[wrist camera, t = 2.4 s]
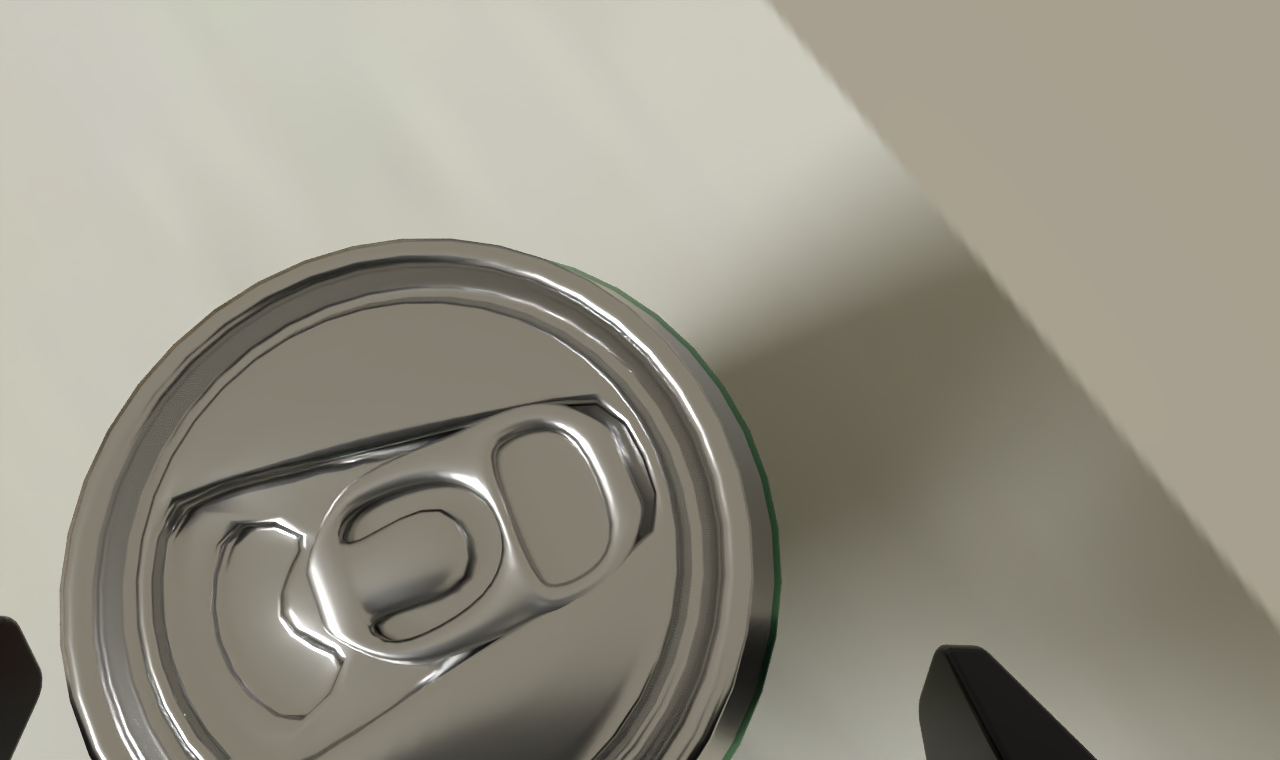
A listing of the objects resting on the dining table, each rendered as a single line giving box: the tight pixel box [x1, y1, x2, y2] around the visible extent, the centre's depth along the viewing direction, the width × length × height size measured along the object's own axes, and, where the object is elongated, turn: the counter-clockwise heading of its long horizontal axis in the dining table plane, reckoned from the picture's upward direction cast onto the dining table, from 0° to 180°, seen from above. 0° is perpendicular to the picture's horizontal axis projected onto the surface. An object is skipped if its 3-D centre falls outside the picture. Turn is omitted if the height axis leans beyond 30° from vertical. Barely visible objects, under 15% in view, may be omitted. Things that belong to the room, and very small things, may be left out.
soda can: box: [60, 239, 781, 760], centre depth 11 cm, size 5×5×12 cm
